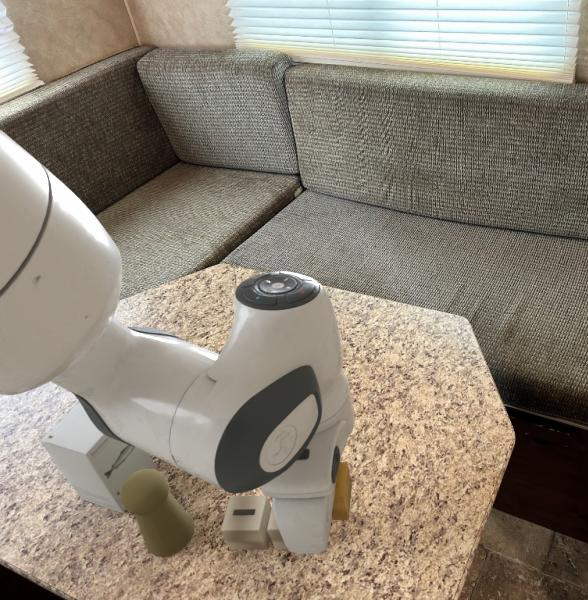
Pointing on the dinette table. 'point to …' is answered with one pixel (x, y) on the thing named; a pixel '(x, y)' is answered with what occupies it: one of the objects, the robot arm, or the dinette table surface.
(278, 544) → the white block
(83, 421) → the white packaging box
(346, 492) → the yellow striped cube
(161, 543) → the olive game pawn
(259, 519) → the off-white cube
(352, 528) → the dinette table surface
